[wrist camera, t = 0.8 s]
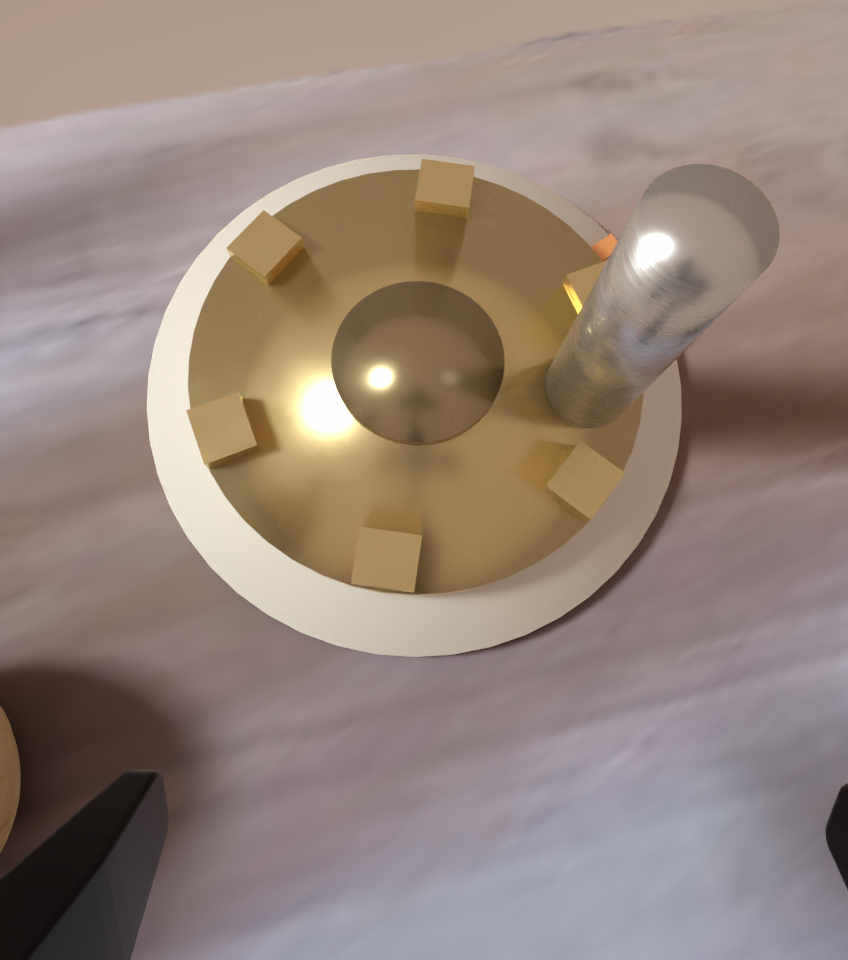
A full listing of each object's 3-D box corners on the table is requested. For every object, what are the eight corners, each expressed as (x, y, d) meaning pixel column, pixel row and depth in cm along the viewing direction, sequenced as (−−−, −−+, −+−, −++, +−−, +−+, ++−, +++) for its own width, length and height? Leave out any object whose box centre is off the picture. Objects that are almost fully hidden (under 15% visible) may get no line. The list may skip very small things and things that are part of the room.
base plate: (769, 530, 23) (782, 526, 22) (250, 750, 21) (243, 755, 20) (544, 108, 27) (548, 91, 26) (92, 253, 25) (81, 241, 24)
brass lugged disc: (707, 495, 22) (951, 387, 12) (282, 670, 20) (164, 710, 10) (525, 142, 25) (600, -168, 16) (146, 266, 24) (-43, 5, 14)
